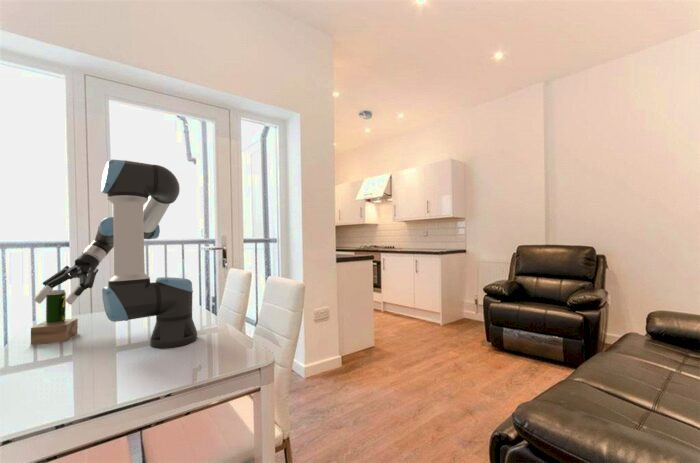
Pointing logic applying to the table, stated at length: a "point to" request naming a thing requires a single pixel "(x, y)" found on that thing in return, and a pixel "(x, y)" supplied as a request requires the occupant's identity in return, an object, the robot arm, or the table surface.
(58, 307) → the guarana soda can
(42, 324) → the walnut block
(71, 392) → the table surface
